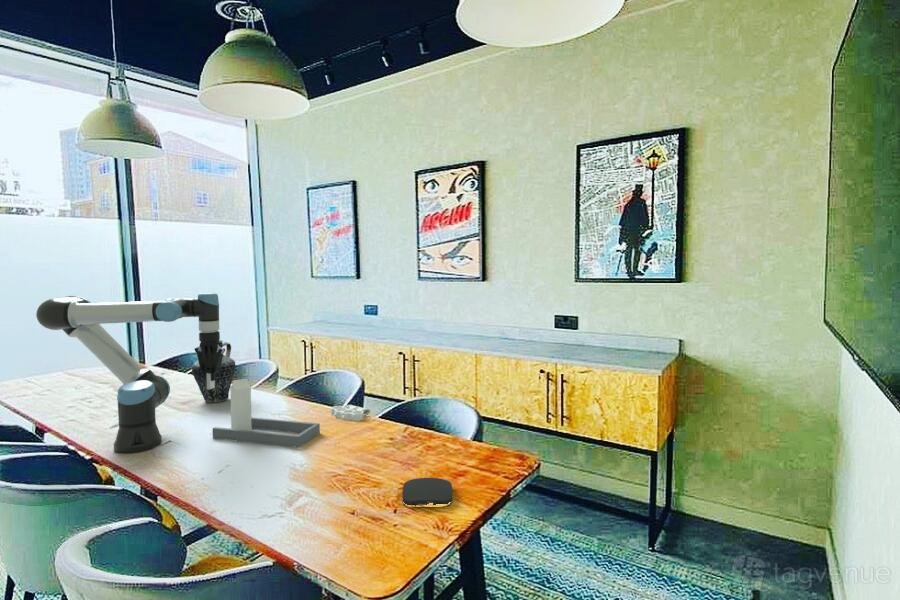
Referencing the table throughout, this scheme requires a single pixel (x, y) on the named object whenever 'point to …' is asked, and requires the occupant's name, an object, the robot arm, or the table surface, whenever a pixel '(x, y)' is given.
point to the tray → (271, 438)
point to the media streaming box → (427, 491)
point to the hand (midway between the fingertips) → (210, 388)
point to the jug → (221, 381)
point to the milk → (241, 405)
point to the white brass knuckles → (349, 412)
